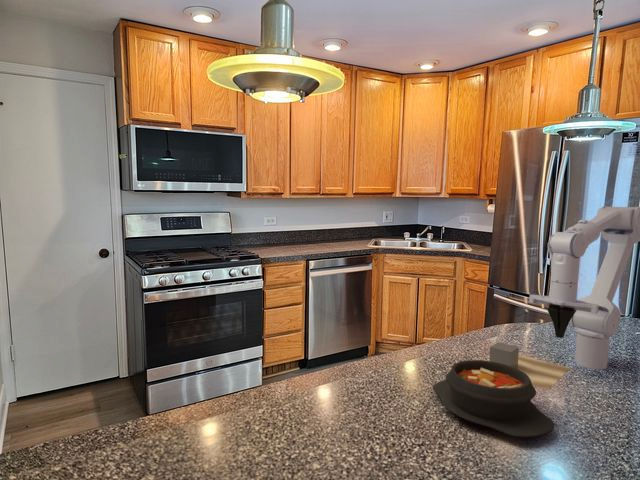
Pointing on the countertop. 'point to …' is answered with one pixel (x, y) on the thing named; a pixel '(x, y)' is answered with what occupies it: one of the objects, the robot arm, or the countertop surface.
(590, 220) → the robot arm
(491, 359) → the grey cube
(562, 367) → the board
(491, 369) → the casserole
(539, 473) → the countertop surface
